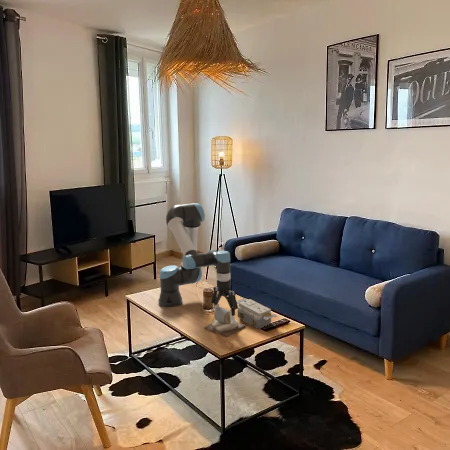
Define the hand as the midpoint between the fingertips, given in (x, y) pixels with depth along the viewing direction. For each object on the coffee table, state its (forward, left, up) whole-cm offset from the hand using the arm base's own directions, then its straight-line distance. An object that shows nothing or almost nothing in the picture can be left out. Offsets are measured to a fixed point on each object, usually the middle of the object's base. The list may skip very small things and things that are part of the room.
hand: (224, 318), depth 248 cm
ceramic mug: (0, +1, -2) cm, 3 cm away
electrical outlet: (+8, +17, -6) cm, 19 cm away
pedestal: (0, 0, -6) cm, 6 cm away
